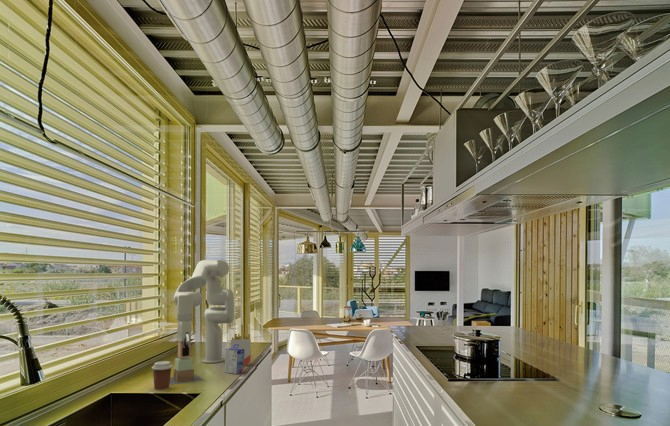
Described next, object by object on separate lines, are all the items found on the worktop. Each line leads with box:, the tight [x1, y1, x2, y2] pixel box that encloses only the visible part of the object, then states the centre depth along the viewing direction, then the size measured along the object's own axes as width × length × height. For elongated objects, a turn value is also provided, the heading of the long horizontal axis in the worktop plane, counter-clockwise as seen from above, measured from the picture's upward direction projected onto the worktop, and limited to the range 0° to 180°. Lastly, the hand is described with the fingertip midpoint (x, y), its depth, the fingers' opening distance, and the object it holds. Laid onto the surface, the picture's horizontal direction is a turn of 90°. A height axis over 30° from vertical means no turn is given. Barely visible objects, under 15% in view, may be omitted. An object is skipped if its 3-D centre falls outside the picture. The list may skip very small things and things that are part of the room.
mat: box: [169, 373, 205, 386], centre depth 235 cm, size 16×16×1 cm
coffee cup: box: [151, 360, 174, 391], centre depth 218 cm, size 9×9×12 cm
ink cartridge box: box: [224, 344, 245, 375], centre depth 252 cm, size 10×6×14 cm, turn 53°
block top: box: [174, 357, 194, 371], centre depth 236 cm, size 7×7×5 cm
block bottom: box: [173, 367, 195, 382], centre depth 235 cm, size 8×8×5 cm
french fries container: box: [230, 333, 252, 367], centre depth 270 cm, size 5×11×18 cm, turn 103°
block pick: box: [177, 341, 192, 358], centre depth 237 cm, size 5×5×7 cm
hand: (184, 354), depth 237 cm, fingers closed on block pick, 5 cm apart
